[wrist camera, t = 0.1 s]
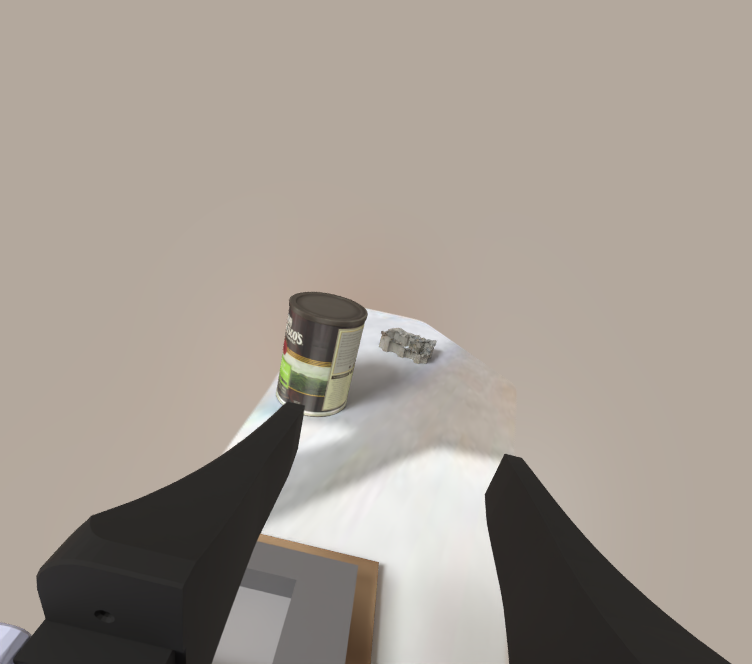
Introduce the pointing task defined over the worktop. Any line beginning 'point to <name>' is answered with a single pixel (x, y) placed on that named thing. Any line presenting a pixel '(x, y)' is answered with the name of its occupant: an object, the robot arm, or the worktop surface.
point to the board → (363, 597)
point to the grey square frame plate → (289, 610)
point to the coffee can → (320, 351)
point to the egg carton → (399, 339)
